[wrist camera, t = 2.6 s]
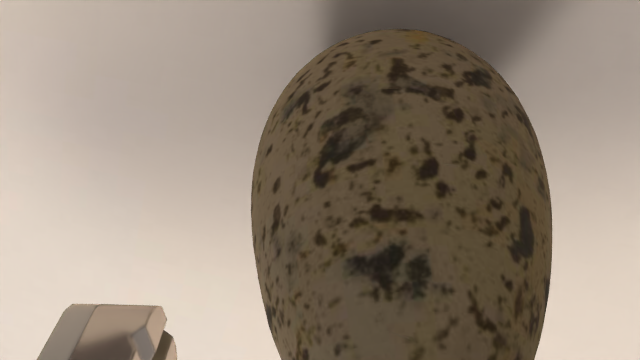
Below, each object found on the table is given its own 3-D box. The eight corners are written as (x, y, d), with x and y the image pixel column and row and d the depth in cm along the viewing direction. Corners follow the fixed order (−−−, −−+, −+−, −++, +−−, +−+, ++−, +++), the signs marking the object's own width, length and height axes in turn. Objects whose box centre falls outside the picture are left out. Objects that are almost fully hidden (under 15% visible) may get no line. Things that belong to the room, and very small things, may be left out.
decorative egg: (408, 213, 18) (445, 594, 10) (240, 120, 16) (112, 484, 8) (552, 67, 14) (788, 455, 6) (360, -68, 13) (351, 224, 5)
